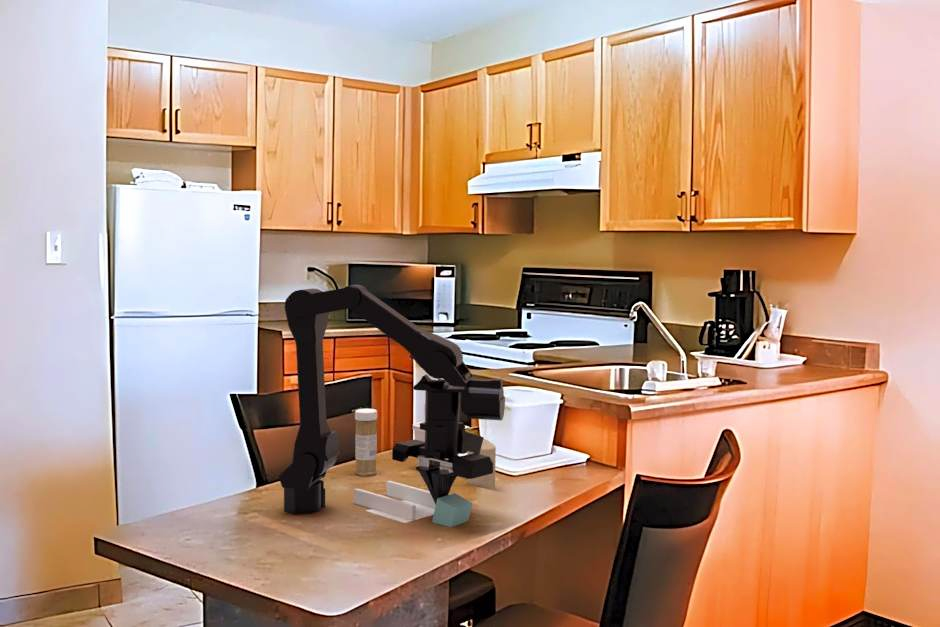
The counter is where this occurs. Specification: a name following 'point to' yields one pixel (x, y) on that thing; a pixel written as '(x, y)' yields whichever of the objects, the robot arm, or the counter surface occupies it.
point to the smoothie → (419, 432)
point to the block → (451, 510)
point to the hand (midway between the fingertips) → (440, 508)
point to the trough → (397, 502)
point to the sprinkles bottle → (366, 442)
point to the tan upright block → (489, 480)
